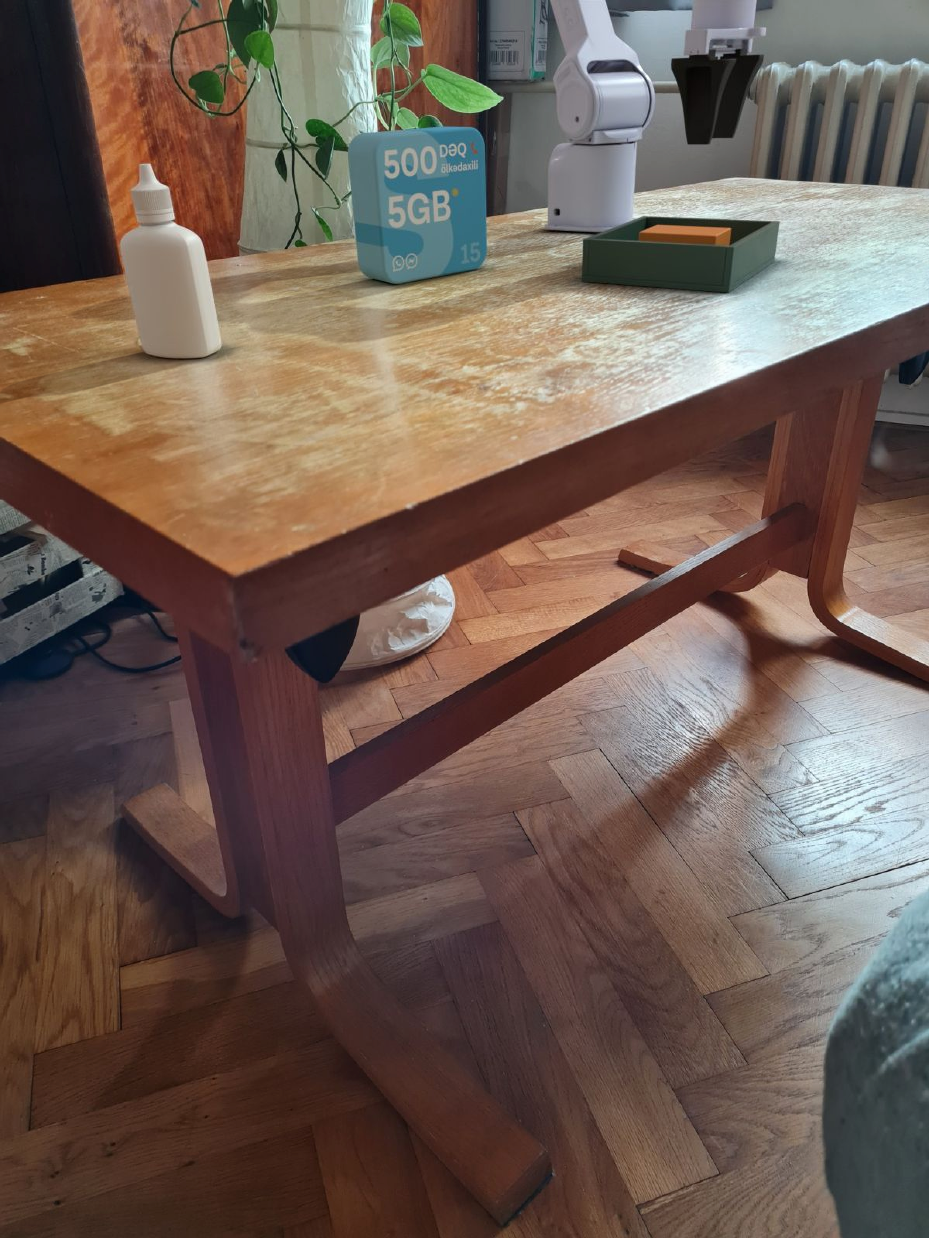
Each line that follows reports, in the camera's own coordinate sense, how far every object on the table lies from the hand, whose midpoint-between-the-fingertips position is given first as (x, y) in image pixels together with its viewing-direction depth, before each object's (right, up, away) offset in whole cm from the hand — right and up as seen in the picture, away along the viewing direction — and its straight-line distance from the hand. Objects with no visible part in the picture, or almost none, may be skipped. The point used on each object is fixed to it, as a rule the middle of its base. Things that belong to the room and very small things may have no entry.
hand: (711, 141), depth 88 cm
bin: (-5, -16, -7) cm, 18 cm away
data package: (-28, -15, -4) cm, 32 cm away
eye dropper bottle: (-45, -29, -25) cm, 58 cm away
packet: (-5, -15, -7) cm, 18 cm away
